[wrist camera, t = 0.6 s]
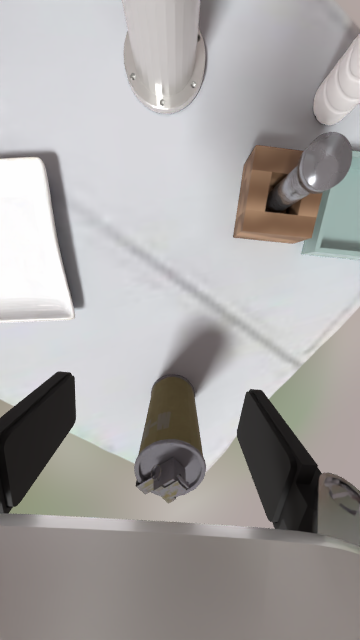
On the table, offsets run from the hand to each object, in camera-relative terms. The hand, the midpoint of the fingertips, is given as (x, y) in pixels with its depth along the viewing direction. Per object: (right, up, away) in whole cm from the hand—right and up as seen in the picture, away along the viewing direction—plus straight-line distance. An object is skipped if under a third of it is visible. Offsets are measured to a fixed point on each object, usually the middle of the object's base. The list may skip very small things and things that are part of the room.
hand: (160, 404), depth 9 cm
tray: (+34, +25, +24) cm, 48 cm away
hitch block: (+18, +26, +24) cm, 39 cm away
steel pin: (+18, +26, +23) cm, 39 cm away
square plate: (-34, +18, +25) cm, 46 cm away
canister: (-1, -13, +33) cm, 36 cm away
